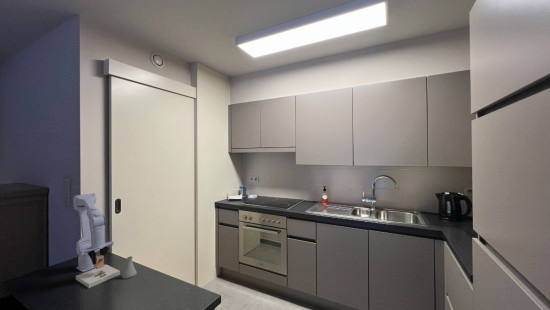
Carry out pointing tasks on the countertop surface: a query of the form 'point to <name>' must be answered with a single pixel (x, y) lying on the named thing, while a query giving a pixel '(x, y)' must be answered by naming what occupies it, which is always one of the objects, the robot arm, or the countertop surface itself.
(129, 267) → the flask
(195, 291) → the countertop surface
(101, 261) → the plug
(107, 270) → the socket
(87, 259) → the robot arm
